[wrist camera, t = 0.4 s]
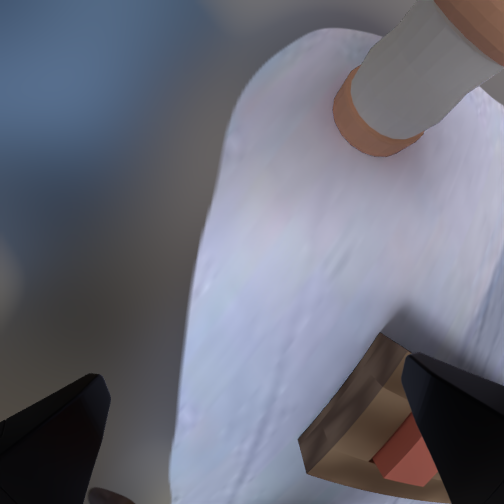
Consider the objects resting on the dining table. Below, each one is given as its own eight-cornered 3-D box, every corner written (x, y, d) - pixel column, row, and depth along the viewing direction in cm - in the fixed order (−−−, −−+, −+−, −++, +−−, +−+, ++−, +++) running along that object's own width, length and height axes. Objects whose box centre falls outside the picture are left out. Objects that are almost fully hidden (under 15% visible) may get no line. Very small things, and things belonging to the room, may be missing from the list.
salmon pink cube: (407, 465, 20) (423, 486, 16) (369, 453, 19) (383, 478, 16) (445, 420, 20) (466, 438, 16) (411, 403, 19) (432, 423, 16)
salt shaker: (405, 90, 23) (536, -29, 3) (411, 163, 23) (596, 80, 4) (331, 74, 22) (423, -101, 3) (332, 150, 23) (491, -14, 3)
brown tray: (448, 484, 24) (464, 504, 19) (297, 439, 23) (306, 474, 18) (505, 412, 24) (527, 427, 19) (379, 332, 23) (407, 351, 18)
